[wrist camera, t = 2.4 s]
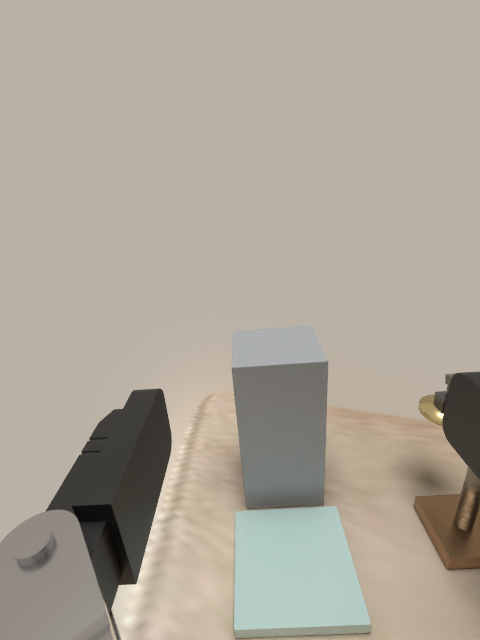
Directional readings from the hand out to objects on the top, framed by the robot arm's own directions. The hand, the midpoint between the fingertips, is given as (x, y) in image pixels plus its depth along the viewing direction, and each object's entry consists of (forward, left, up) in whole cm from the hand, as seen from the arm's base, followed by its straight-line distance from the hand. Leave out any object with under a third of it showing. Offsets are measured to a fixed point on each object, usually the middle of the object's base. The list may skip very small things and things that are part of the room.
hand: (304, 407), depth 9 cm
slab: (0, -5, -16) cm, 17 cm away
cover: (0, -11, -16) cm, 20 cm away
